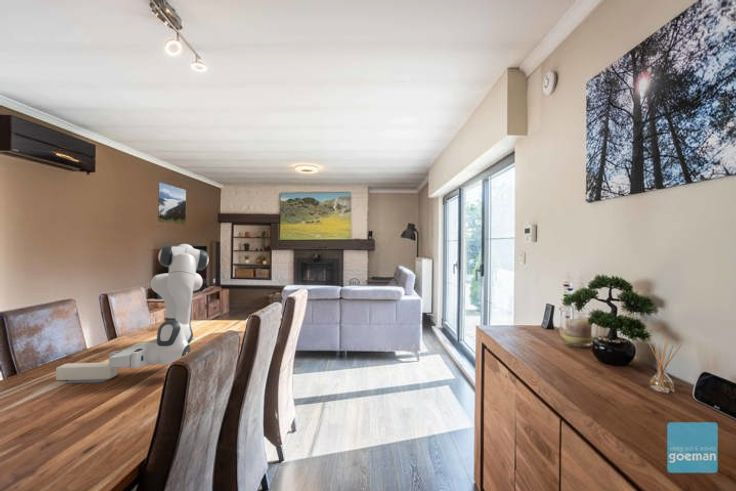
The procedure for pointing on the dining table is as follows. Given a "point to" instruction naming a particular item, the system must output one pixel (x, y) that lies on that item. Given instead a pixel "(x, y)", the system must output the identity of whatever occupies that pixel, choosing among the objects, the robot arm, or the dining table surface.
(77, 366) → the cream block
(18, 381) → the dining table surface
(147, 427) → the dining table surface
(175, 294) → the robot arm
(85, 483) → the dining table surface
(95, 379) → the slate mat
